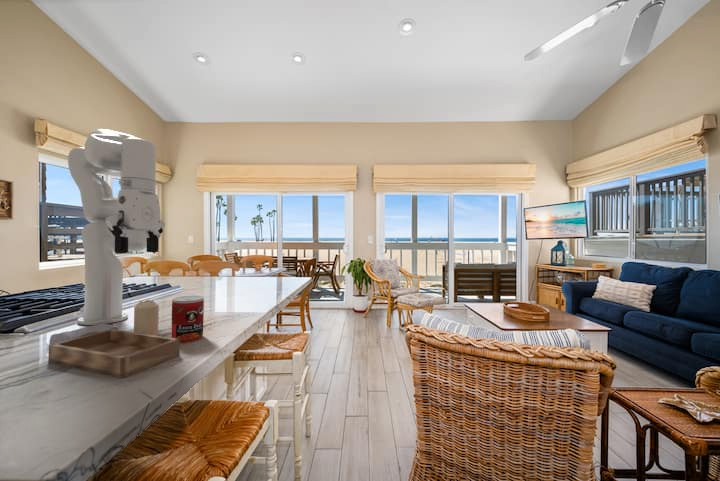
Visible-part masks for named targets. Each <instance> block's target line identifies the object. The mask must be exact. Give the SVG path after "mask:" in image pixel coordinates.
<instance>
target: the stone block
mask: <svg viewBox="0 0 720 481" xmlns="http://www.w3.org/2000/svg"><path fill="white" fill-rule="evenodd" d="M110 329H114V330H120V329H119V327H118V326H117V325H112V324H109V323H108V324H98V325H87V326H85V327H81V328H77V329H74V330H70V331H69V330H67V331H63V332H59V333H54V334H51V335H50V338H49V344H48V345H51V344H55V343H59V342H63V341H67V340H71V339H75V338H79V337H83V336H87V335H91V334H95V333H98V332H102V331H106V330H110Z"/></svg>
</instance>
